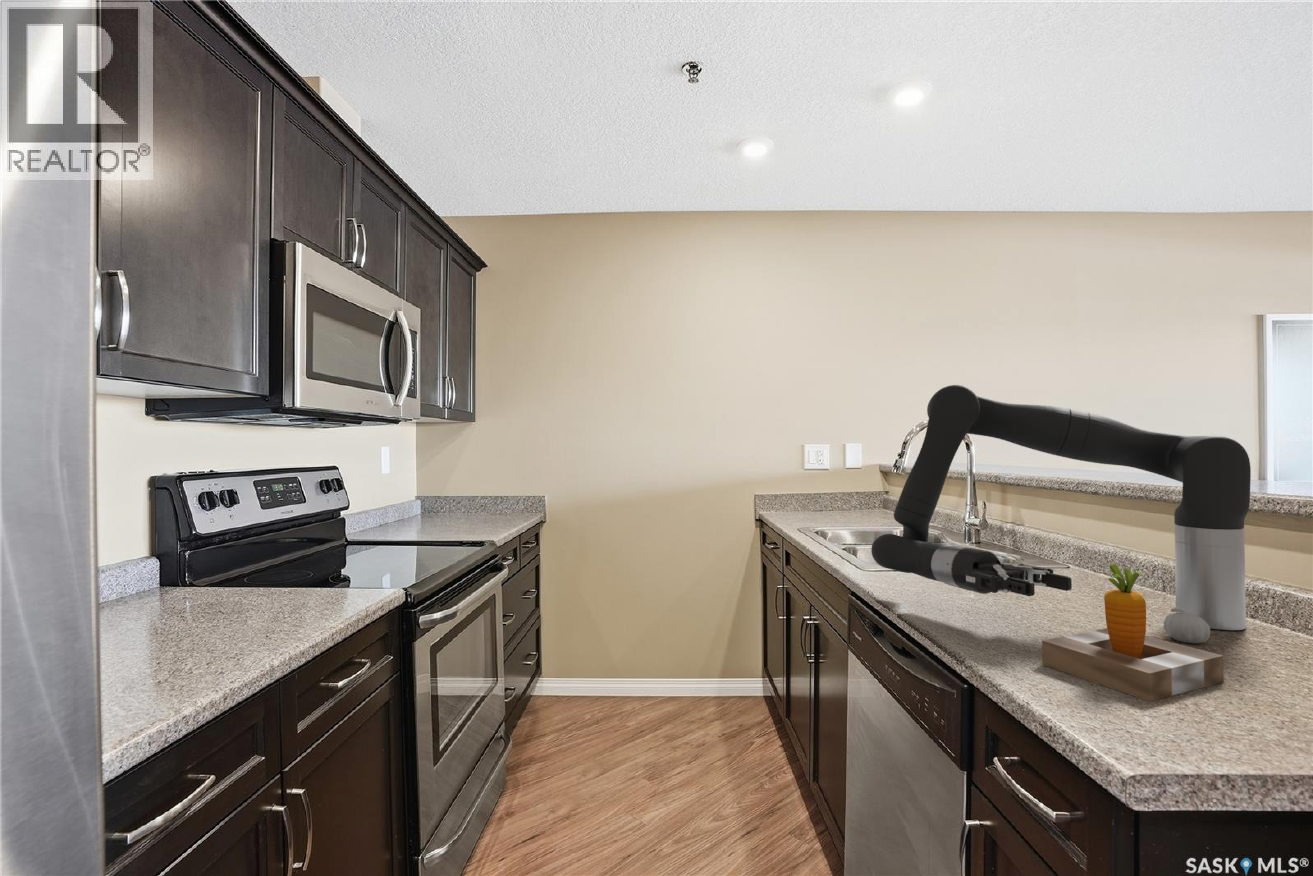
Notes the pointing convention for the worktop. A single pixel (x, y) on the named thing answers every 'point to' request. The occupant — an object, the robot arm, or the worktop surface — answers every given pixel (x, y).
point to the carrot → (1125, 614)
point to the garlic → (1186, 627)
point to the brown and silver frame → (1134, 664)
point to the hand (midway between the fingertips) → (1052, 586)
